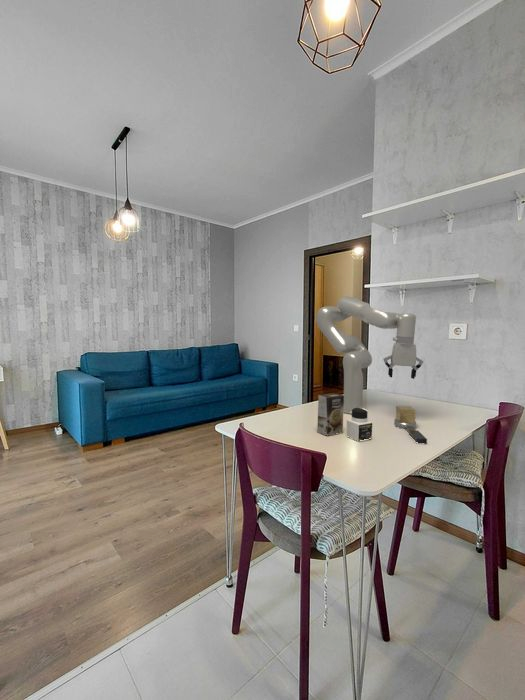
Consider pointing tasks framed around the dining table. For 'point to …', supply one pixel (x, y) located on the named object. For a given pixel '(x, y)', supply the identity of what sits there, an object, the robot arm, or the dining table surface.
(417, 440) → the ratchet
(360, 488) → the dining table surface
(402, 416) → the brass-coloured cube
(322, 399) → the coffee box
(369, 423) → the medicine bottle
